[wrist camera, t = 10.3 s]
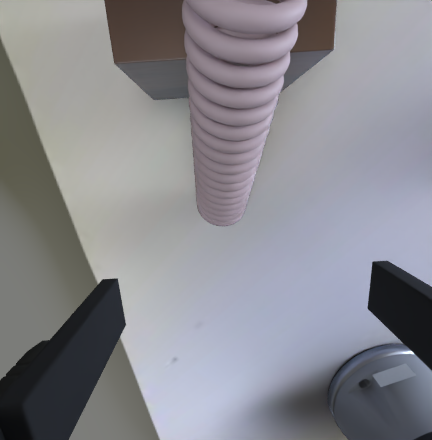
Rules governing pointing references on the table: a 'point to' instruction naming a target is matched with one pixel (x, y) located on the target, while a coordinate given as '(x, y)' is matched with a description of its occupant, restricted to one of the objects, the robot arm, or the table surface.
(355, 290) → the table surface
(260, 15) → the coil
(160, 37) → the walnut block
